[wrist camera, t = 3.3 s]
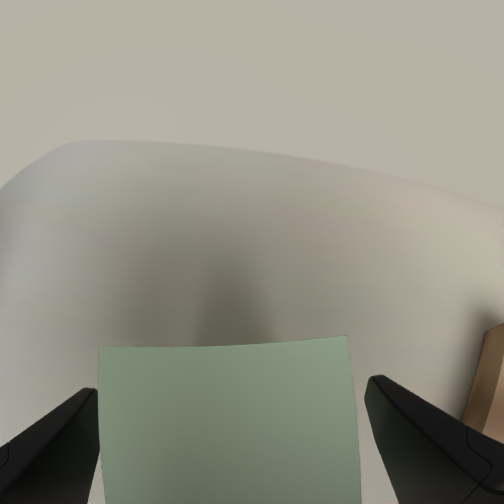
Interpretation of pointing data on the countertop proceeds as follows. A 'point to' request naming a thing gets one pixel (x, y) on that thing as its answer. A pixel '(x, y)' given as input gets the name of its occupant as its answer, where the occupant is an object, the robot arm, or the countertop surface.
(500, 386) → the walnut plinth
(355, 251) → the countertop surface
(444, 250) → the countertop surface
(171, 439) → the sage block
